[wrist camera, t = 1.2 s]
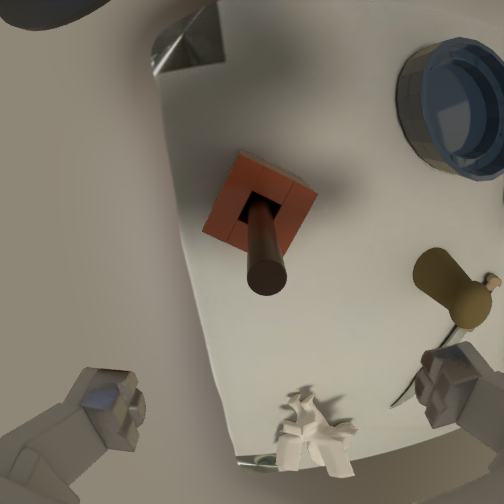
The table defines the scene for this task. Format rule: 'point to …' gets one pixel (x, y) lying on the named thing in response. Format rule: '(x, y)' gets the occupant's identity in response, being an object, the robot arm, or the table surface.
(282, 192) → the holder
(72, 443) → the robot arm
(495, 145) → the bowl
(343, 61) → the table surface
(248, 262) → the stick
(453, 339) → the knife
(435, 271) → the pepper shaker
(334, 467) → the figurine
